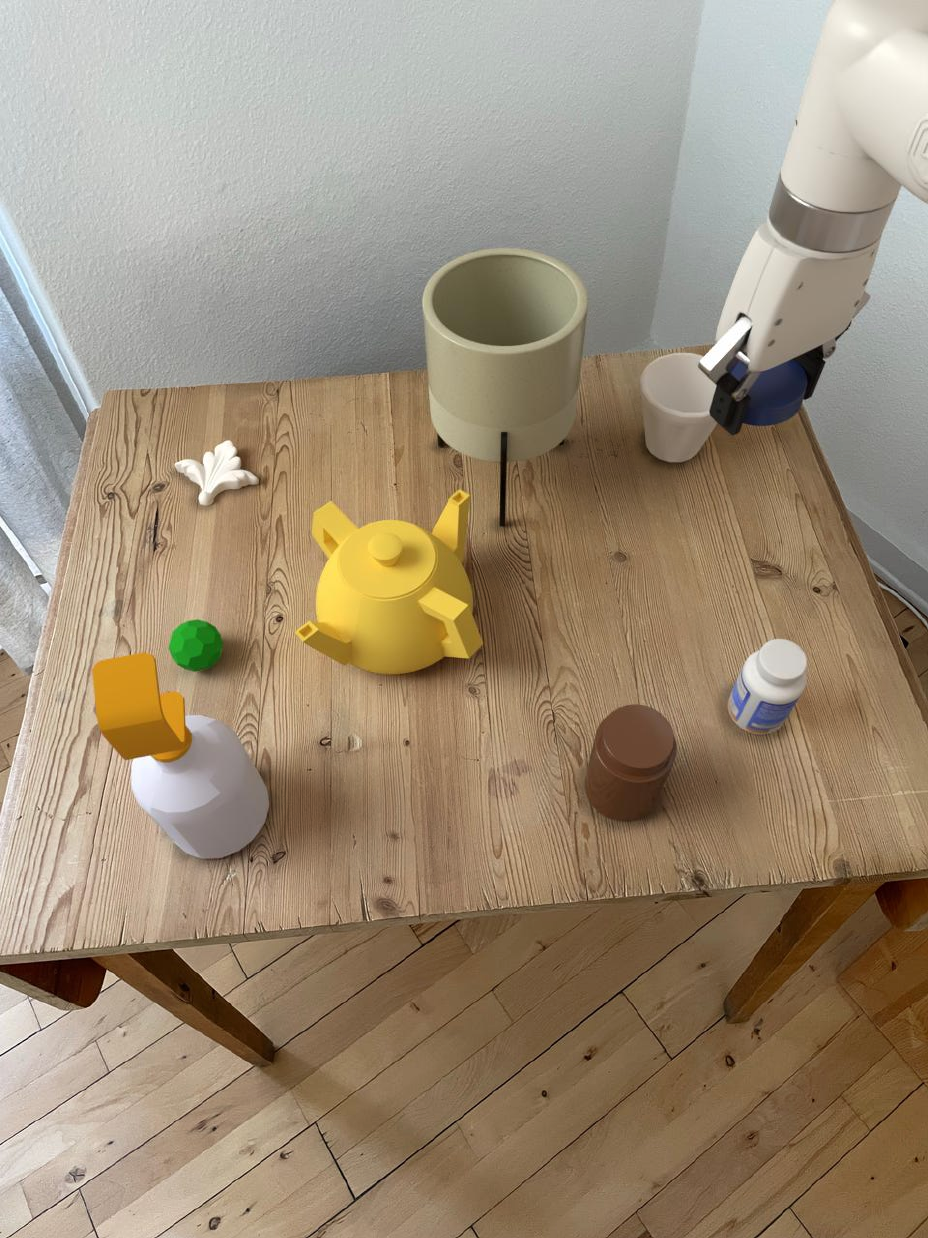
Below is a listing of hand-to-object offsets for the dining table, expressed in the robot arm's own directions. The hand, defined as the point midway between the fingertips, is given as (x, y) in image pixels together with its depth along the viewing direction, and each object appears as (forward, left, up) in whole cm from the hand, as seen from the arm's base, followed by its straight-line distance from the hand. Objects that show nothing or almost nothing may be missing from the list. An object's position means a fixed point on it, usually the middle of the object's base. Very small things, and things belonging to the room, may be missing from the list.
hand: (760, 405), depth 73 cm
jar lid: (0, 0, +2) cm, 2 cm away
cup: (+5, -16, -22) cm, 28 cm away
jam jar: (+5, +27, -22) cm, 35 cm away
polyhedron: (+47, +23, -22) cm, 57 cm away
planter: (+23, -8, -22) cm, 33 cm away
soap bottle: (+39, +38, -22) cm, 59 cm away
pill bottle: (-6, +16, -22) cm, 28 cm away
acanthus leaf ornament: (+55, +1, -22) cm, 59 cm away
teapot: (+29, +14, -22) cm, 40 cm away
